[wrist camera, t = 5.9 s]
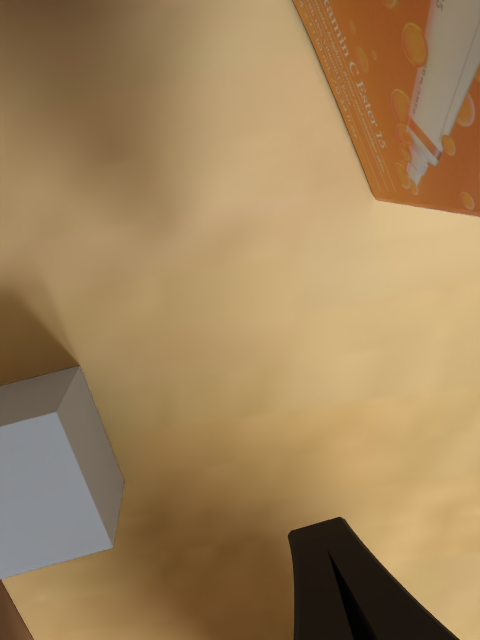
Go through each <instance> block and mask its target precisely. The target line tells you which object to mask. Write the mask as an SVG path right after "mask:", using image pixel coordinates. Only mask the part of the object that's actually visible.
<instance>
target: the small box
mask: <svg viewBox="0 0 480 640" xmlns="http://www.w3.org/2000/svg"><path fill="white" fill-rule="evenodd" d="M293 2H294V4H295V6H296V8H297V10H298V12H299V14H300V17H301V19H302V21H303V23H304V25H305V28H306V30H307V32H308V34H309V37H310V39H311V41H312V44H313V46H314V48H315V51H316V53H317V55H318V58H319V60H320V62H321V65H322V67H323V70H324V72H325V75H326V77H327V80H328V82H329V85H330V87H331V89H332V92H333V94H334V96H335V99H336V101H337V104H338V106H339V108H340V111H341V113H342V116H343V118H344V121H345V123H346V126H347V129H348V131H349V134H350V136H351V139H352V141H353V144H354V146H355V149H356V151H357V154H358V156H359V159H360V161H361V164H362V167H363V169H364V172H365V174H366V177H367V180H368V182H369V185H370V187H371V190H372V193H373V196H374V197H375V199H376V200H378V201H383V202H389V203H395V204H401V205H408V206H414V207H419V208H425V209H431V210H437V211H443V212H451V213H456V214H463V215H469V216H475V217H480V0H293Z"/></svg>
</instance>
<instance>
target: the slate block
mask: <svg viewBox="0 0 480 640" xmlns="http://www.w3.org/2000/svg"><path fill="white" fill-rule="evenodd" d="M123 488H124V479H123V477H122V474H121V471H120V469H119V466H118V464H117V461H116V458H115V456H114V453H113V450H112V448H111V445H110V443H109V440H108V437H107V435H106V432H105V430H104V427H103V424H102V422H101V419H100V416H99V414H98V411H97V409H96V406H95V403H94V401H93V398H92V395H91V393H90V390H89V388H88V385H87V382H86V380H85V377H84V375H83V372H82V369H81V367H80V366H76V367H72V368H68V369H64V370H60V371H56V372H53V373H49V374H45V375H41V376H37V377H33V378H29V379H25V380H21V381H17V382H14V383H10V384H6V385H2V386H0V579H4V578H7V577H11V576H14V575H18V574H22V573H25V572H29V571H32V570H36V569H39V568H43V567H46V566H50V565H54V564H57V563H61V562H64V561H68V560H71V559H75V558H79V557H82V556H86V555H89V554H93V553H96V552H100V551H104V550H107V549H111V548H113V546H114V540H115V534H116V528H117V523H118V517H119V511H120V505H121V500H122V494H123Z"/></svg>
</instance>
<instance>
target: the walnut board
mask: <svg viewBox="0 0 480 640" xmlns="http://www.w3.org/2000/svg"><path fill="white" fill-rule="evenodd" d="M0 640H33V638H32V636H31V635H30V633H29V631H28V629H27V627H26V626H25V624H24V622H23V620H22V618H21V616H20V615H19V613H18V611H17V609H16V607H15V606H14V604H13V602H12V600H11V598H10V597H9V595H8V593H7V591H6V589H5V588H4V586H3V584H2V582H1V580H0Z"/></svg>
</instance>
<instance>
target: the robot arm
mask: <svg viewBox="0 0 480 640" xmlns="http://www.w3.org/2000/svg"><path fill="white" fill-rule="evenodd" d="M288 539H289V543H290V547H291V554H292V561H293V573H294V640H460V639H458V638H457V637H456V636H455V635H454V634H453V633H452V632H450V631H449V630H448V629H447V628H446V627H445V626H444V625H443V624H442V623H440V622H439V621H438V620H437V619H436V618H435V617H434V616H433V615H432V614H431V613H430V612H429V611H428V610H426V609H425V608H424V607H423V606H422V605H421V604H420V603H419V602H418V601H417V600H416V599H415V598H414V597H413V596H412V595H411V594H410V593H409V592H408V591H407V590H406V589H405V588H404V587H403V586H402V585H401V584H400V583H399V582H398V581H397V580H396V579H395V578H394V577H393V576H392V575H391V574H390V573H389V572H388V571H387V569H386V568H385V567H384V566H383V565H382V564H381V563H380V562H379V561H378V560H377V558H376V557H375V556H374V555H373V554H372V553H371V552H370V551H369V549H368V548H367V547H366V546H365V545H364V544H363V542H362V541H361V540H360V539H359V537H358V536H357V535H356V534H355V532H354V531H353V530H352V529H351V527H350V526H349V525H348V523H347V522H346V520H345V519H343V518H341V517H337V518H334V519H330V520H327V521H323V522H320V523H316V524H313V525H309V526H306V527H302V528H299V529H295V530H292V531H291V532H290V533H289V534H288Z"/></svg>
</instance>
